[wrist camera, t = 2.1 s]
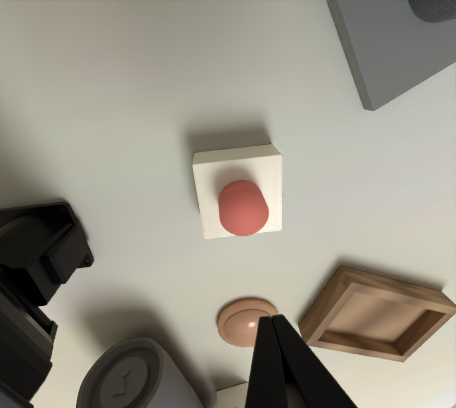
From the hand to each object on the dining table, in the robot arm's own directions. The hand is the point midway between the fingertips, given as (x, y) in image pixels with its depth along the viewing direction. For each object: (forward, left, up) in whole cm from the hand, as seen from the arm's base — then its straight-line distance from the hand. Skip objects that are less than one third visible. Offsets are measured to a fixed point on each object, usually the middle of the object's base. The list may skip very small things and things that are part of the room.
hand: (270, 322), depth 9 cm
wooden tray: (+14, -17, -13) cm, 26 cm away
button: (0, 0, -10) cm, 10 cm away
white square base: (0, 0, -13) cm, 13 cm away
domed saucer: (0, -17, -13) cm, 21 cm away
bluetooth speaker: (-11, -27, -13) cm, 32 cm away
